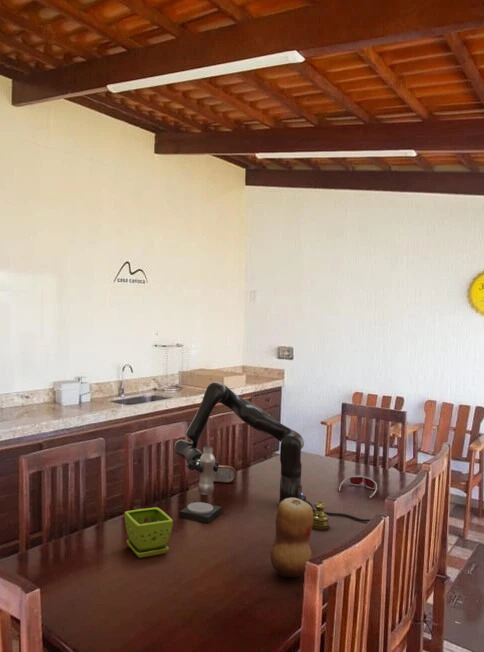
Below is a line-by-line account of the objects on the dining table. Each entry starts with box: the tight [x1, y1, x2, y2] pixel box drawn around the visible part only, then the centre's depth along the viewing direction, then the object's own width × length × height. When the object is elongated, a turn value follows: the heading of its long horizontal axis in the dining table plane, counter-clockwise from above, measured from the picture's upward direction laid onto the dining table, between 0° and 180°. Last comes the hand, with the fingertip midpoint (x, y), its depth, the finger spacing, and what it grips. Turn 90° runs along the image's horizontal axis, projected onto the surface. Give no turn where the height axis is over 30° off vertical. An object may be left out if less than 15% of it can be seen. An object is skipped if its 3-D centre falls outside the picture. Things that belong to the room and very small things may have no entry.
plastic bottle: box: [197, 445, 216, 496], centre depth 228 cm, size 6×7×20 cm
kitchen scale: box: [179, 500, 223, 524], centre depth 228 cm, size 13×14×3 cm
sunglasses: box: [338, 475, 378, 499], centre depth 268 cm, size 17×17×5 cm
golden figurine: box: [312, 501, 330, 531], centre depth 220 cm, size 7×7×10 cm
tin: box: [213, 464, 237, 484], centre depth 272 cm, size 15×3×8 cm, turn 84°
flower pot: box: [124, 506, 174, 559], centre depth 192 cm, size 14×14×13 cm
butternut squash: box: [269, 498, 314, 578], centre depth 178 cm, size 14×13×25 cm
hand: (209, 470), depth 225 cm, fingers closed on plastic bottle, 6 cm apart
